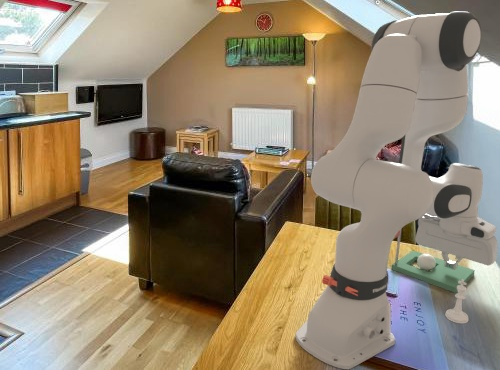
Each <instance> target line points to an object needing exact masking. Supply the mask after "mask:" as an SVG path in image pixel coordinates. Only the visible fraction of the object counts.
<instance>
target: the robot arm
mask: <svg viewBox="0 0 500 370" xmlns="http://www.w3.org/2000/svg"><path fill="white" fill-rule="evenodd" d="M481 40H482V27H481V24H480V21H479V20H478V18H477V17H476V15H474V14H473V13H472V12H468V11H451V12H450V13H435V14H419V15H414V16H411V17H406V18H403V19H400V20H395V19H394V20H392V21H388V22H387V23H384V24H382V25H381V26H380V27H379V28H377V30H376V32H375V33H374V35H373V37H372V40H371V47H370V50H371V52H370V55H369V58H368V60H367V63H366V66H365V68H364V72H363V76H362V79H361V82H360V83H361V84H360V88H359V92H358V97H357V102H356V105H355V110H354V113H353V117H352V120H351V123H350V125H349V127H348V129H347V132H346V133H345V135H344V136H343V138H342V139H341V140H340V142H339V143H338V144H337V145H336V146H335V148H333V149H332V150H330V151H329V152H328V153H326V154H325V155H323V156H321V157H320V158H319V159H318V160H317V161H316V163H315V164H314V165H313V167H312V171H311V175H310V181H311V182H310V183H311V186H312V189H313V191H314V193H315V194H316V195H317V196H319V197H321V198H323V199H325V200H326V201H328V202H331V203H332V204H334V205H335V204H336V205H338V206H339V205H340V206H343V207H346V208H349V209H354V210H357V211H359V212H361V213H360V214H361V217H360V222H356V223H351V224H349V225H346V226H344V227H343V228H342V229H341V230H340V231H339V233H338V234H337V236H336V238H335V239H336V243H335V254H334V255H335V256H334V257H335V258H334V263H333V265H332V269H331V270H330V275H328V274H325V275H323V276H322V278H321V279H322V281H321V283H322V284H323V285H326V287H325V289H324V290H323V291H322V293H321V295H320V296H319V298H318V299H317V301H316V302H315V303H314V305H313V307H312V308H311V310H310V311H309V314H308V316H307V317H308V318H307V320H306V321H305V322H304V323H303V324H302V326H301V327H299V329H298V330H297V331H296V332H295V336H294V337H295V341H296V342H297V343H298V344H299V346H300V347H302V349H303V350H305V351H306V352H307V353H308V354H310V355H311V356H313V357H314V358H316V359H317V360H320V361H321V362H323V363H325V364H327V365H330V366H332V367H334V368H338V369H340V370H341V369H343V370H350V369H353V368H354V367H356V366H358V365H360V364H361V363H362V364H363V362H365V361H367V360H369V359H371V358H373V357H374V356H375V355H378V354H381V352H383V351H385V350H387V349H389V348H390V347H392V346H394V345H395V344H396V338H395V335H394V334H393V333H392V331H391V330H392V329H391V327H392V325H391V323H392V322H391V321H392V304H391V302H390V300H389V297H388V296H387V290H388V285H389V282H390V281H389V272H388V264H389V257H390V251H391V246H392V244H393V242H394V239H395V238H394V237H395V235H396V234H397V232H398V231H399V230H400V229H401V228H404V227H405V226H406V225H408V224H410V223H412V222H415V221H417V225H418V228H417V230H416V235H415V240H414V241H415V242H416V244H417V245H420V246H422V247H426V248H430V249H432V250H436V251H439V252H441V257H442V260H444V261H445V263H444V267H447V268H450V269H453V270H456V269H457V266H458V265H459V263H460V262H461V261H462V260H463V259H465V260H468V261H471V262H475V263H479V264H482V265H484V266H491V265H493V264H495V262H496V261H497V256H498V239H497V238H496V236H495V234H496V232H497V227H496V226H495V225H494V224H492V223H490V222H488V221H486V220H484V219H483V218H481V217H479V210H478V207H479V203H480V201H481V198H482V193H483V184H484V181H483V180H484V176H483V170H482V169H481V168H480V167H477V166H474V165H470V164H465V163H461V162H460V163H459V162H453V163H451V164H450V165H449V167H448V171H446V173H444V174H443V175H442V176H440V177H434V176H431V175H429V174H428V173H427V172H426V171H422V163H423V157H424V151H425V150H424V149H425V145H426V143H427V141H428V140H429V138H430V137H432V136H437V135H440V134H443V133H446V132H449V131H451V130H453V129H454V128H456V127H457V126H458V125H460V124H461V122H462V121H463V120H464V118H465V117H466V113H467V110H468V99H469V97H468V95H469V83H468V82H469V80H468V79H469V77H468V66H467V65H469V63H471V62H472V60H473V59H474V58H475V57H476V55H477V53H478V52H479V50H480V45H481ZM398 140H401V145H400V153H399V159H398V162H393V161H387V160H381V159H377V156H378V155H379V153H380V151H381V150H382V149H383V148H384V147H385V146H387V145H388V144H389V145H390V144H391V143H394V142H398ZM401 230H402V229H401ZM449 255H452V256H455V260H456V261H454V260H451V259H450V256H449Z"/></svg>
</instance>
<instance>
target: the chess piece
mask: <svg viewBox="0 0 500 370" xmlns="http://www.w3.org/2000/svg"><path fill="white" fill-rule="evenodd" d="M458 283H460V284H461V285H458V286H457V290H458V292H457V293H455V295H454V297H455V298H456V302H455V305H454V307H453V308H449V309H447V310H445V317H446V319H448V320H449V321H451V322H454V323H455V324H467V323H468V322H469V315H468V314H467V313H466V312H465V311H463V300H465V299H466V296H465V295H464V294H465V293H466V291H467V284H468V282H466V283H465V282H464V279H462V281H458Z"/></svg>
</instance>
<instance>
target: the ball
mask: <svg viewBox="0 0 500 370" xmlns="http://www.w3.org/2000/svg"><path fill="white" fill-rule="evenodd" d="M434 257H435V256H433V255H431V254H429V253H423V254H422V255H420V256H419V257H418V259H417V261H416V263H417V266H418V268H419V269H422V270H425V271H428V272H430V271H431V270H433V269H434V268H435V265H436V261H435V259H434Z"/></svg>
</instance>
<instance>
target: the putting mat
mask: <svg viewBox="0 0 500 370" xmlns="http://www.w3.org/2000/svg"><path fill="white" fill-rule="evenodd" d="M402 228H403V227H402ZM402 228H401V229H400V230H399V231H398V232H397V234H396V235H395V237H394V239H396V238H397V243H396V251H395V252H396V253H395V258H394V259H395V261H394V262H393V263H392V264H391V270H394V271H396V272H398V273H400V274H403V275H407V276H409V277H412V278H413V279H417V280H420V281H422V282H424V283H428V284H431V285H433V286H436V287H438V288H441V289H444V290H445V291H446V290H447V291H449V292H452V293H455V294H458V290H457V286H458V285H461V284H460V283H458V281H462V279H464V282H465V283H468V282H469V280H471V279H472V278H473V277H474V275H475V271H476V270H475V269H473V268H469V267H467V266H463V265H460V264H458V266H457V269H456V270H453V269H450V268H447V267H444V263H445V261H444V259H443V258H442V259H441V258H438V257H435V256H433V257H434V259H435V261H436V265H435V267H434V269H432V270H430V271H425V270H422V269H420V268H419V267H416V266H413V265H411V264H413V263H414V262H417V259H418V257H419V256H420V255H422V254H424V252H423V253H422V252H419V251H416V250H412V251H410V252H408V253H407V254H405V255H404V256H403V257H400V258H399V254H400V245H401V238H402Z"/></svg>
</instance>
